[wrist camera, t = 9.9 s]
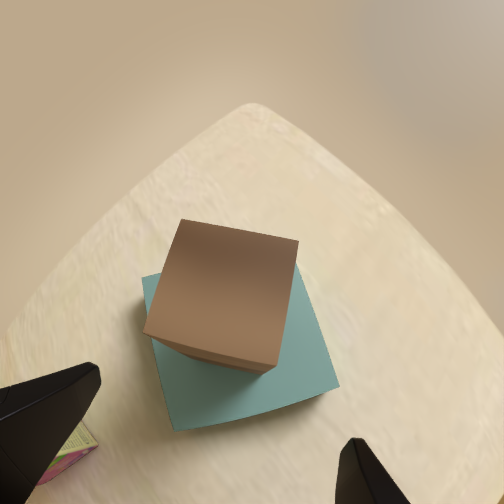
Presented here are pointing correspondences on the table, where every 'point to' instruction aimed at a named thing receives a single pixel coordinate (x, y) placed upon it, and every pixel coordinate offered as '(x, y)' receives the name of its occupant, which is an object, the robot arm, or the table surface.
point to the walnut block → (224, 296)
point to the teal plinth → (244, 383)
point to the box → (70, 452)
